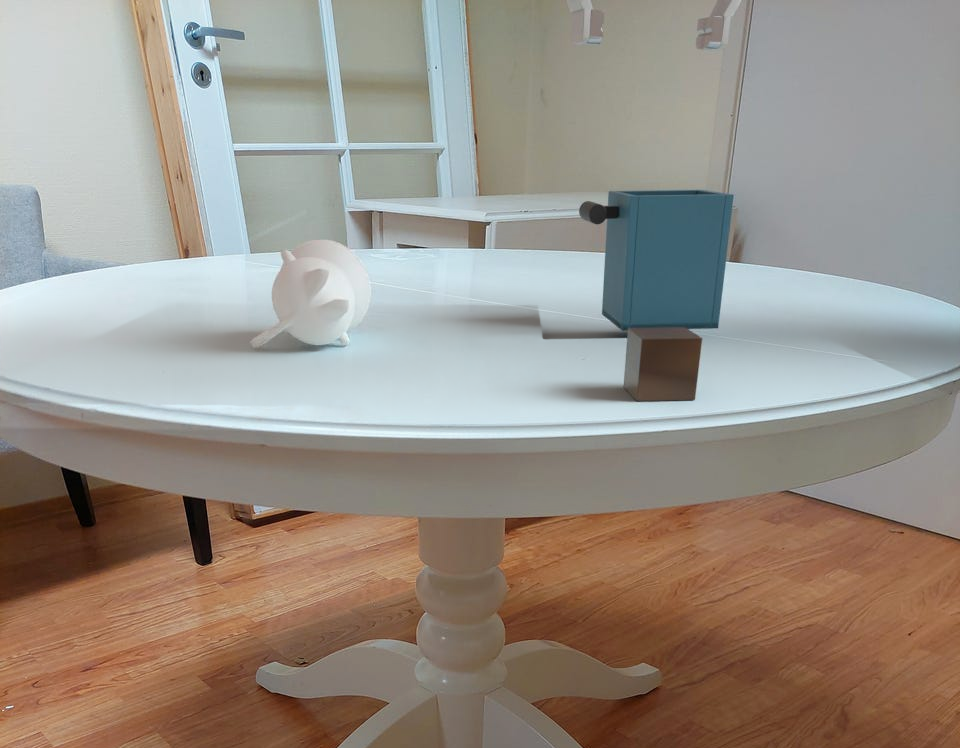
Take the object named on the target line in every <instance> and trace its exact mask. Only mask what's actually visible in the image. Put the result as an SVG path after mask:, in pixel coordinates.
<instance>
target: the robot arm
mask: <svg viewBox="0 0 960 748" xmlns="http://www.w3.org/2000/svg"><path fill="white" fill-rule="evenodd" d="M742 1H743V0H717V1H716V2H715V4H714V6H713V8H712V11H711V12H710V15H709V16H707V17H703V18H699V19H697V27H696V32H697V34H698V35H697V36H696V39H695V45H696V46H695V47H696V49H697V50H702V51H720V50H724V49H726V48H727V46H728V42H729V37H730V35H729V34H730V27H731V19H732V18H733V17H734V15H735V13H736V12H737V10H738V8H739V6H740V4H741V3H742ZM565 2H566V4H567V7H568V10H569V12H570V13H571V15H572V16H571V38H570V39H571V43H572V45H573V46H595V45H600V44H601V43H602V40H603V38H604V37H603V36H604V30H603V28H602V27H603V25H604V22H605V10H602V9H601V10H600V9H594V8H593V7H594V6H593V5H592V1H591V0H565Z"/></svg>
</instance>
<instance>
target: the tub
mask: <svg viewBox="0 0 960 748" xmlns="http://www.w3.org/2000/svg"><path fill="white" fill-rule="evenodd" d="M734 198H735V197H734V194H733V193H726V192H719V191H714V190H713V191H712V190H705V189H662V190H661V189H658V190H657V189H655V190H654V189H653V190H652V189H651V190H609V191H608V195H607V205H603V204H601V203H597V202H594V201H590V200H586V201H584V202H582V203H581V204H580V206H579V209H578V213H579V216H580V218H581V219H582V220H584V221H586V222H589V223H591V224H593V225H601V224H603V223H604V222H605V221H606V230H605V231H606V234H605V249H604V267H603V268H604V269H603V286H602V287H603V289H602V303H601V304H602V305H601V315H602V316H604V318H606V319H607V320H608V321H610V322H611V324H613V325H614V326H615V327H617V328H618V329H619V330H620V331H622V332H628V328H658V327H685V328H687V329H688V330H707V329H712V330H713V329H715V330H716V329H719V325H720V316H721V307H722V301H723V300H722V299H723V289H724V281H725V274H726V266H727V265H726V264H727V255H728V247H729V240H730V230H731V224H732V223H731V222H732V213H733V205H734Z"/></svg>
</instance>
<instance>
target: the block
mask: <svg viewBox="0 0 960 748" xmlns="http://www.w3.org/2000/svg"><path fill="white" fill-rule="evenodd" d="M702 345H703V337H701V336H700V335H698V334H696V333H695V332H693V331H691V329H687V328H685V327H658V328H628V331H627V336H626V350H625V362H624V374H623V388H624V390H626V391H627V392H628V394H629V395H630V396H632V398H633V399H635V401H636V402H655V401H657V402H659V401H662V402H663V401H664V402H665V401H695V400H696V395H697V388H698V379H699V369H700V361H701V353H702Z"/></svg>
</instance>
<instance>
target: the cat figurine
mask: <svg viewBox="0 0 960 748" xmlns="http://www.w3.org/2000/svg"><path fill="white" fill-rule="evenodd" d="M280 256H281V259H282V262H283V263H282V265H281V267H280V270H279V271H278V273H277V274H276V275H275V278H274V280H273V284H272V287H271V304H272V307H273V310H274V313H275V315H276V318H277V320H278V321H279V322H277V323H276V324H275V325H273V326H271V327H270V328H268V329H266V330H264V331H263V332H261V333H259V334H258V335H256V336H255V337H253V338H252V340H250V344H251V346H252V347H253V348H254V349H257V348H260V347H262V346H264V345H265V344H267V343H268V342H269V341H271V340H272V339H274V338H275V337H276V336H278V335H279V334H281V333H282V332H283V331H287V332H288V334H290V335H291V336H292V337H293V338H294V339H296V340H298V341H300V342H302V343H304V344H307V345H311V346H324V345H328V344H331V343H333V342H336V341H339V343H340V344H341V345H343V346H344V347H346V346H349V345H350V343H351V342H350V338H349V335H348V333H350V332H351V331H353V330H354V329H356V327H357V326H359V324H360V323H362V321H363V320H364V318H365V316H366V314H367V312H368V310H369V307H370V303H371V295H372V294H371V293H372V288H371V281H370V280H371V279H370V277H369V273H368V271H367V269H366V267H365V265H364V264H363V262H362V261H361V258H359V257H358V255H357V254H356V253H355V252H354V251H352V250H351V249H350V248H349V247H347V246H346V245H344V244H342V243H340V242H338V241H334V240H330V239H320V238H319V239H312V240H307V241H305V242H303V243H301V244H299V245H298V246H296V247H294V249H292V250H291V251H289V250H287V249H283V250H281V252H280Z"/></svg>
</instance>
